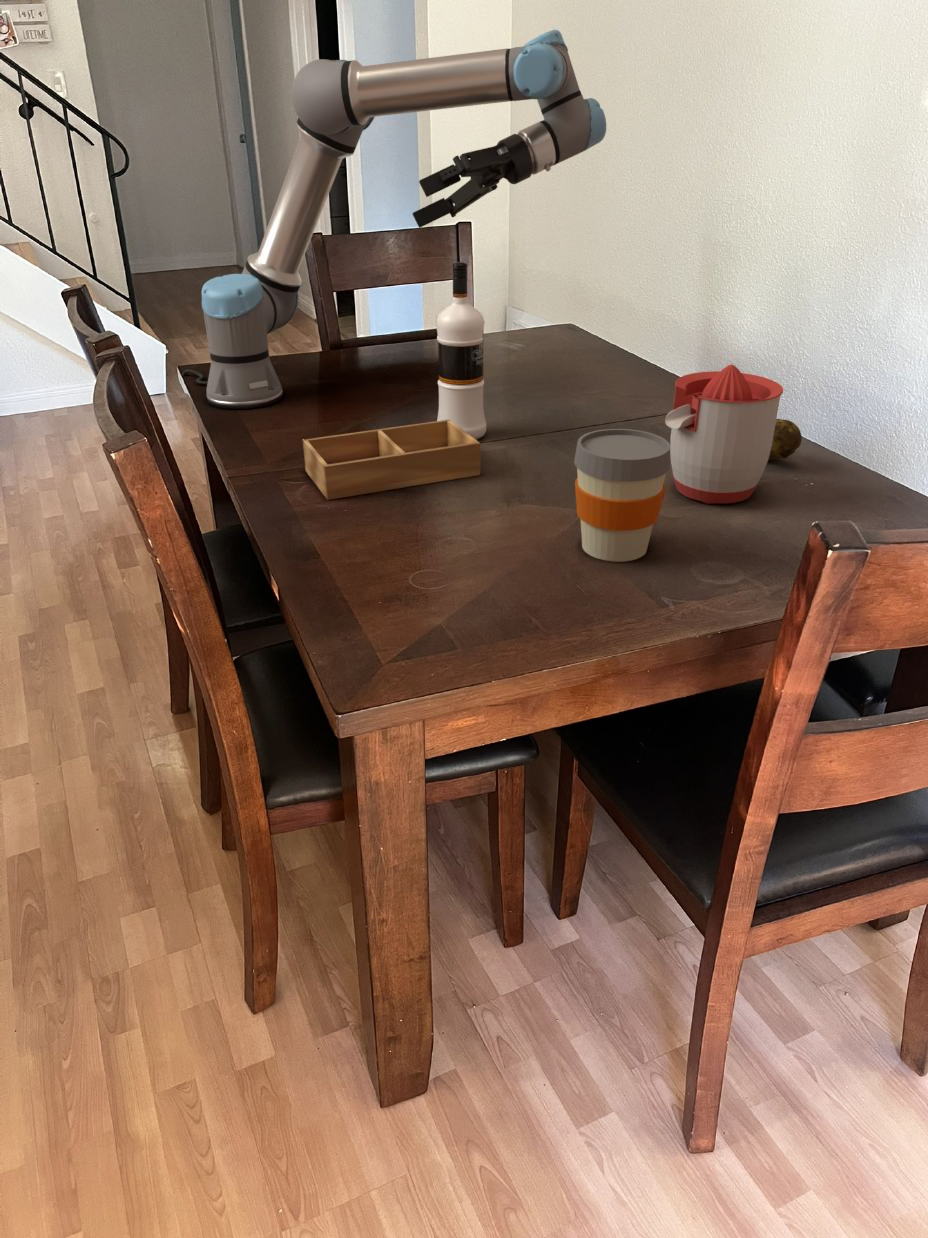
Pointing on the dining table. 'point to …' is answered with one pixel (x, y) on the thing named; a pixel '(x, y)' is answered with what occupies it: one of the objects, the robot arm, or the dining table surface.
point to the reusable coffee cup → (619, 490)
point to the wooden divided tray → (390, 458)
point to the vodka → (461, 359)
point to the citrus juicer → (721, 433)
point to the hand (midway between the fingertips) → (419, 205)
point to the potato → (785, 439)
